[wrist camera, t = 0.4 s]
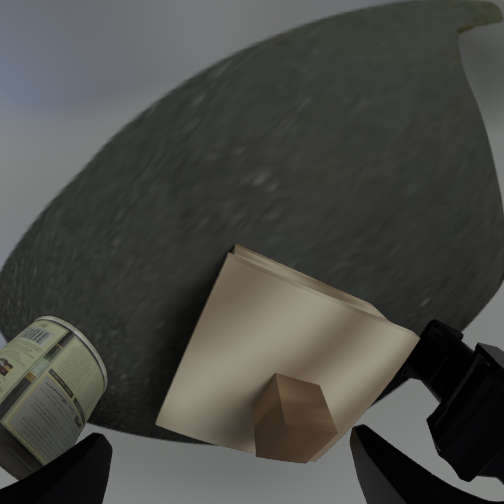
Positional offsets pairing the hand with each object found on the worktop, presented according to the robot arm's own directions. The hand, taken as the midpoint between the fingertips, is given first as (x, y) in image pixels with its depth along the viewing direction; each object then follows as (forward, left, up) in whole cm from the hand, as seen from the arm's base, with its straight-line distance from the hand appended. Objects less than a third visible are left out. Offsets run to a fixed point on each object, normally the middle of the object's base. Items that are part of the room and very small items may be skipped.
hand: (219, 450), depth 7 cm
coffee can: (+12, +14, -13) cm, 23 cm away
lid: (-5, +2, -8) cm, 10 cm away
